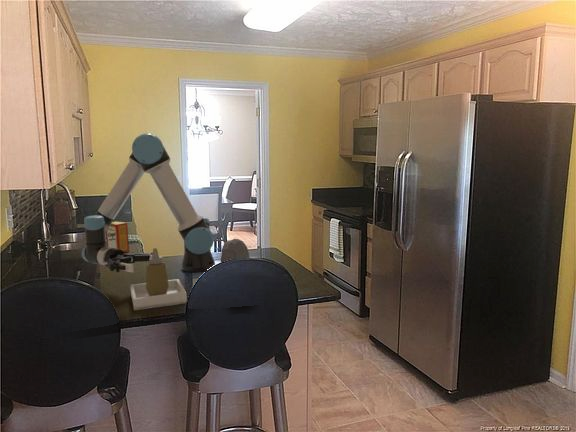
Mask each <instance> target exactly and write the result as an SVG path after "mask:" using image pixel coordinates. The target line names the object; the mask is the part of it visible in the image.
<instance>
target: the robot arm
mask: <svg viewBox="0 0 576 432" xmlns="http://www.w3.org/2000/svg"><path fill="white" fill-rule="evenodd" d="M131 151H132V152H131V154H130V156H128V160H129V161H128V163H127V164H126V166H125V168H124V169H123V171H122V172H121V174H120V175H119V177H118V179H117V180H116V181H115V183H114V185H113V187H112V188H111V190H110V192H108V194H107V195H106V197H105V199H104V200H103V201H102V203H101V205H100V207H99V208H98V210H97V212H96V213H95V214H94V215H88V216H85V217H84V218H83V219H84V220H83V221H84V224H83V227H84V234H85V237H84V238H85V246H84V247H83V248H82V250H81V257H82V259H83V260H84V262H85V261H86V262H87V263H90V264H94V265H101V266H105V267H106V268H108V270H109V271H110V272H114V271H115V273H120V271H123V272H128V273H134V264H135V263H136V262H139V263H140V262H149V258H152V254H153V251H152V252H149V253H148V252H132V253H128V252H125V253H124V251H123V250H121V249H116V248H111V247H107V238H106V231H107V230H108V229H109V227H110V225H111V223H112V222H114V220H115V218H116V217H117V216H118V214H119V212H120V211H121V209H122V208H123V207H124V205H125V203H126V202H127V200H128V199H129V197H130V196H131V194H132V192H133V191H134V189H135V188H136V186H137V185H138V184H139V181H140V180H141V179H142V177H143V175H144V174H145V173H146V174H149V175H150V177H151V178H152V180H153V182H154V184H155V185H156V187H157V189H158V190H159V193H160V194H161V195H162V198H163V200H164V201H165V202H166V204H167V206H168V208H169V210H170V212H171V213H172V214H173V215H172V216H174V218H175V221H177V224H178V228H177V231H178V233H179V235H180V237H181V238H182V239H183V245H184V254H183V258H182V261H181V270H182V271H183V272H187V273H203V272H207V271H206V270H207V269H209V268H210V267H212V266H213V265H215V266H216V262H215V259H214V257H213V254H212V250H211V249H212V248H213V246H214V241H215V240H214V234H213V232H212V231H211V228H210V225H211V222H210V219H209V218H207V217H203V216H202V215H199V214H198V213H197V212H196V210H195V208H194V206H193V205H192V202H191V201H190V199H189V198H188V195H187V194H186V191H184V188H183V187H182V184H181V183H180V181H179V179H178V178H177V176H176V173H175V172H174V171H173V169H172V167H171V164H170V162H171V157H170V156H169V154H168V152H167V150H166V148H165V147H164V144H163V142H162V140H161V139H160V138H159V137H158V136H157V135H155V134H153V133H148V132H147V133H142V134H140V135H138V136H137V137H135V139H134V140H133V141H132V144H131ZM159 257H162V263H164V257H163V256H160V255H159Z"/></svg>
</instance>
